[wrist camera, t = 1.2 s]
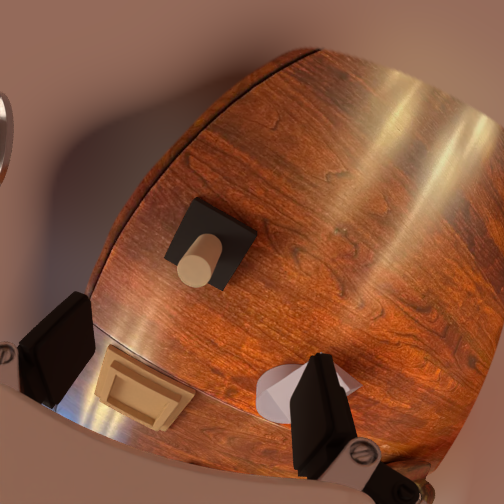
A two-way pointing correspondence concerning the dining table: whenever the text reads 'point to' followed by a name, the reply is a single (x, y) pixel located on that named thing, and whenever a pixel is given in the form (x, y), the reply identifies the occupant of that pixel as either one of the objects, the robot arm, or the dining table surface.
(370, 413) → the dining table surface
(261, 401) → the wedge on round base
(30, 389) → the robot arm
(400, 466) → the ceramic vessel
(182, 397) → the base pad
